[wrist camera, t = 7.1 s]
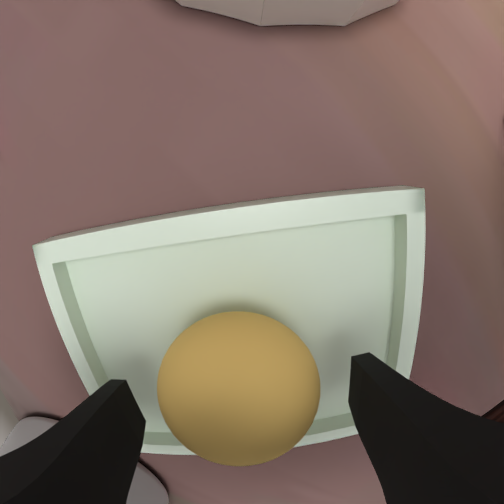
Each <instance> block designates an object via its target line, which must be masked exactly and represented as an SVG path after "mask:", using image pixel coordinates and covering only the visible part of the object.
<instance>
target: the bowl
mask: <svg viewBox="0 0 504 504" xmlns="http://www.w3.org/2000/svg"><path fill="white" fill-rule="evenodd" d="M175 1H176V2H178V3H179V4H180V5H181V6H185V7H191V8H195V9H200V10H205V11H209V12H213V13H217V14H221V15H225V16H229V17H232V18H236V19H239V20H242V21H246V22H249V23H252V24H255V25H258V26H272V25H335V26H346V25H348V24H350V23H352V22H354V21H356V20H359V19H361V18H363V17H365V16H368V15H370V14H372V13H375V12H377V11H380V10H382V9H385V8H387V7H390V6H392V5H395V4H396V3H397V2H398V1H399V0H175Z"/></svg>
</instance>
